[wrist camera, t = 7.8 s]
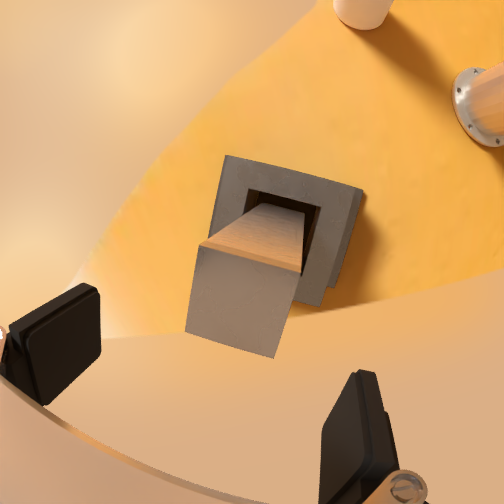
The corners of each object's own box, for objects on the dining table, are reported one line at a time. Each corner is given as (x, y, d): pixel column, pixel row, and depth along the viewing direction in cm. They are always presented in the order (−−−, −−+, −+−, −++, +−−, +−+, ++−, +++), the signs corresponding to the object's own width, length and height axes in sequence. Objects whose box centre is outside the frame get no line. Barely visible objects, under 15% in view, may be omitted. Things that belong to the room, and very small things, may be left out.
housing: (361, 189, 39) (378, 194, 29) (333, 285, 43) (339, 316, 33) (227, 155, 41) (204, 150, 31) (207, 250, 45) (181, 271, 35)
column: (304, 213, 35) (300, 272, 14) (291, 260, 37) (269, 369, 16) (262, 202, 36) (199, 244, 15) (251, 249, 37) (183, 343, 16)
